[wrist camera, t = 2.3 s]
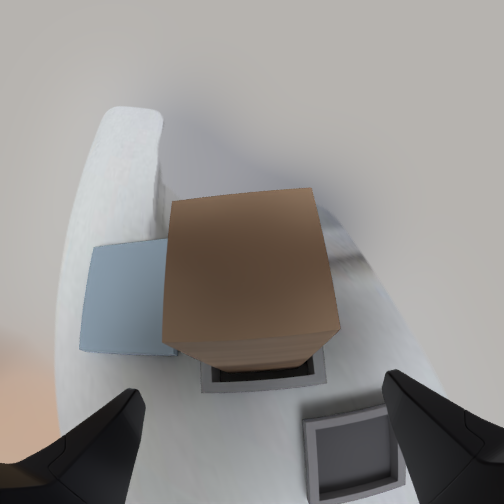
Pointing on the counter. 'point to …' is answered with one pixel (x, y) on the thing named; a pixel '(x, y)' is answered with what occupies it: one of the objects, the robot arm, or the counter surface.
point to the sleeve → (315, 377)
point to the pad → (125, 300)
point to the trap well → (351, 456)
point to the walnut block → (248, 281)
